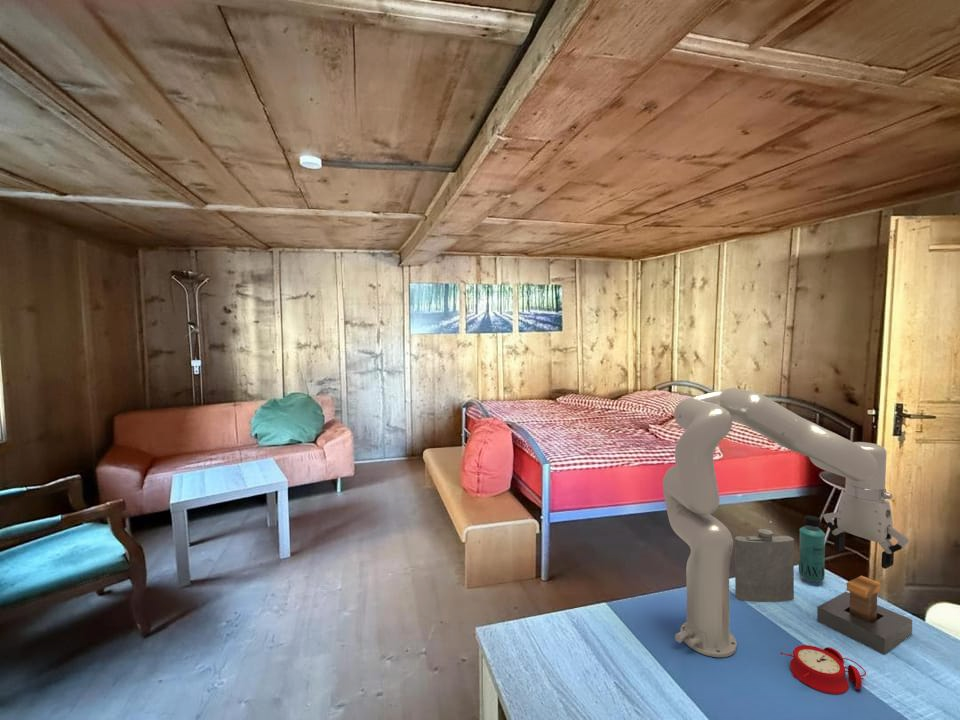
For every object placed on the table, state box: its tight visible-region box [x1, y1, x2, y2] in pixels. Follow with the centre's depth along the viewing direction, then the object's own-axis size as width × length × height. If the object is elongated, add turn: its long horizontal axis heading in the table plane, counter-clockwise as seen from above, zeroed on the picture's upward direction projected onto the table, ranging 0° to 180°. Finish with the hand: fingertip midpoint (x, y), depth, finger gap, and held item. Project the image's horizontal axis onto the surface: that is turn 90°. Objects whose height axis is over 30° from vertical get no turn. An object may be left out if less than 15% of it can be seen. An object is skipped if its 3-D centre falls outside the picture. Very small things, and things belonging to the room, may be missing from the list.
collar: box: [816, 591, 913, 656], centre depth 113 cm, size 14×14×4 cm
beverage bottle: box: [798, 515, 826, 583], centre depth 134 cm, size 6×7×20 cm
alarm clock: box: [780, 644, 867, 695], centre depth 98 cm, size 10×6×15 cm
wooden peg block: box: [846, 575, 882, 623], centre depth 113 cm, size 7×4×12 cm, turn 115°
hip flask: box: [734, 528, 795, 603], centre depth 127 cm, size 16×4×20 cm, turn 87°
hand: (862, 558), depth 112 cm, fingers open, 9 cm apart
